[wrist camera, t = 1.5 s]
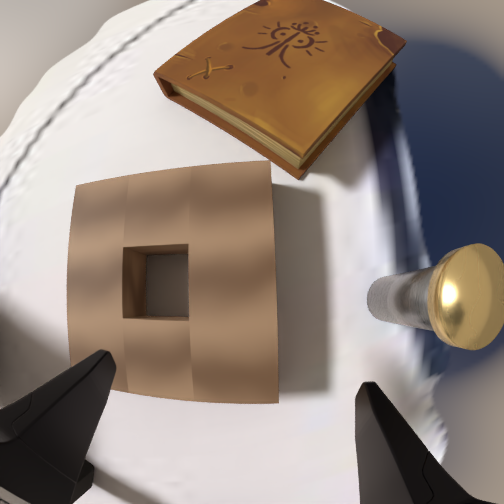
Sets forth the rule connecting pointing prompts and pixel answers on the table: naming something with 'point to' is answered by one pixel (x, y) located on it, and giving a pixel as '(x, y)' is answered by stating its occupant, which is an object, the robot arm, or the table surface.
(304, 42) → the diary
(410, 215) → the table surface
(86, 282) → the socket block
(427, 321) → the pin
